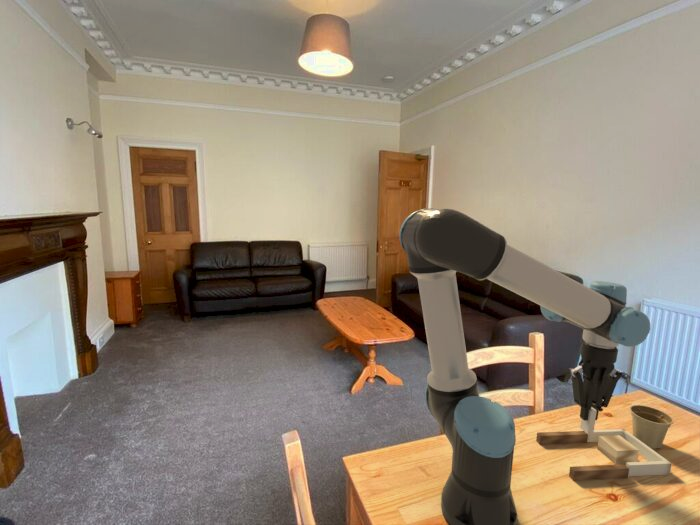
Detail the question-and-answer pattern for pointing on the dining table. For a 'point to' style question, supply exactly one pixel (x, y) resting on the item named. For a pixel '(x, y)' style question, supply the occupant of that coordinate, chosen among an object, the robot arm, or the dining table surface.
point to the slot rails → (583, 471)
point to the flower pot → (650, 425)
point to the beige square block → (617, 449)
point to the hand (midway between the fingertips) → (586, 430)
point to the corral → (655, 461)
